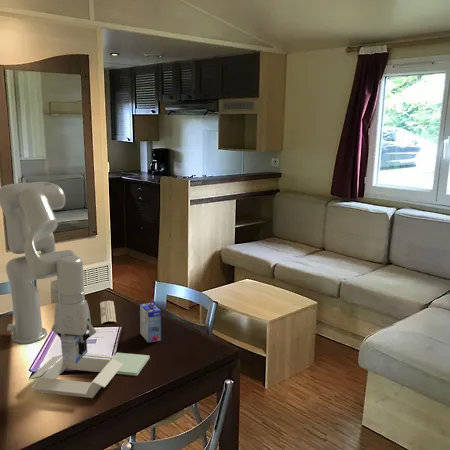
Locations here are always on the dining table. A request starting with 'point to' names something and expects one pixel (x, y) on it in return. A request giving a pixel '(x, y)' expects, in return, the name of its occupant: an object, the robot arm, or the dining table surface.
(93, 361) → the carton
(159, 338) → the ink cartridge box
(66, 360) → the medicine box
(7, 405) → the dining table surface
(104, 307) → the newspaper
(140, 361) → the plate
